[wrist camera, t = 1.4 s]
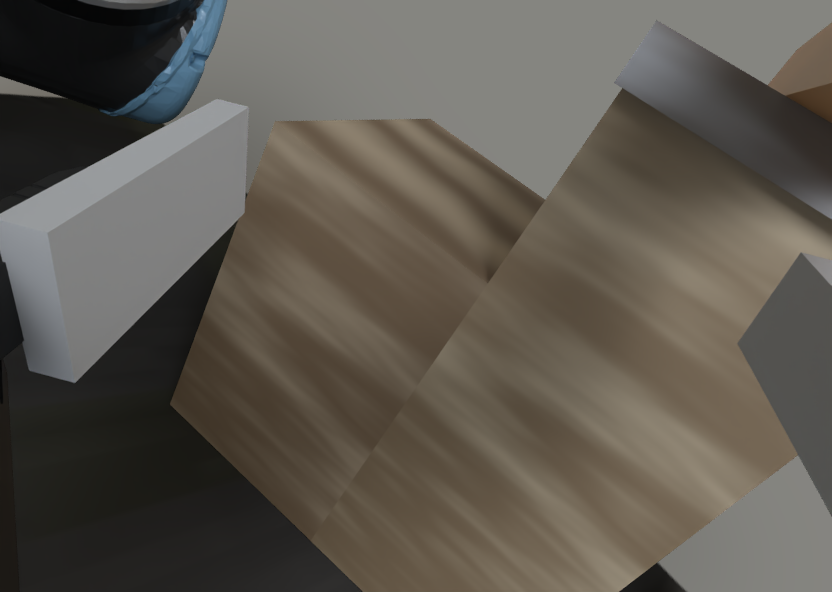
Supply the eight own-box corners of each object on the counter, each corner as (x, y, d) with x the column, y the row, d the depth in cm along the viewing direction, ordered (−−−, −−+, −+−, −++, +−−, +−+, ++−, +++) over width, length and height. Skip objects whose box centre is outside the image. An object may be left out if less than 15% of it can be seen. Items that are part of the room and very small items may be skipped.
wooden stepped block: (323, 322, 48) (512, -39, 33) (553, 517, 43) (895, 191, 28) (158, 410, 34) (361, -154, 19) (472, 717, 29) (1081, 270, 14)
